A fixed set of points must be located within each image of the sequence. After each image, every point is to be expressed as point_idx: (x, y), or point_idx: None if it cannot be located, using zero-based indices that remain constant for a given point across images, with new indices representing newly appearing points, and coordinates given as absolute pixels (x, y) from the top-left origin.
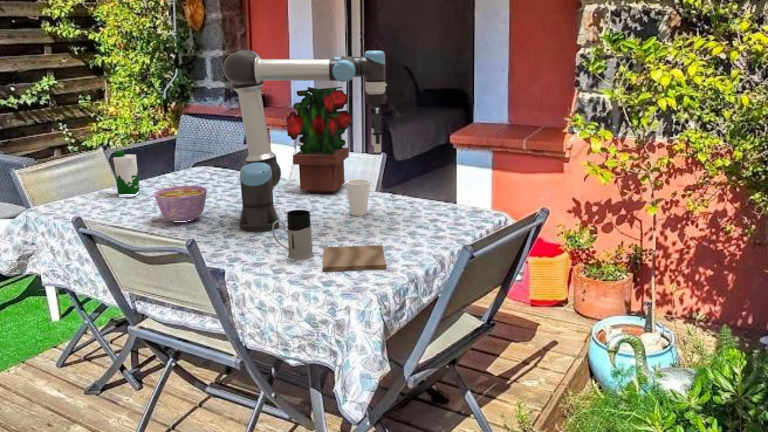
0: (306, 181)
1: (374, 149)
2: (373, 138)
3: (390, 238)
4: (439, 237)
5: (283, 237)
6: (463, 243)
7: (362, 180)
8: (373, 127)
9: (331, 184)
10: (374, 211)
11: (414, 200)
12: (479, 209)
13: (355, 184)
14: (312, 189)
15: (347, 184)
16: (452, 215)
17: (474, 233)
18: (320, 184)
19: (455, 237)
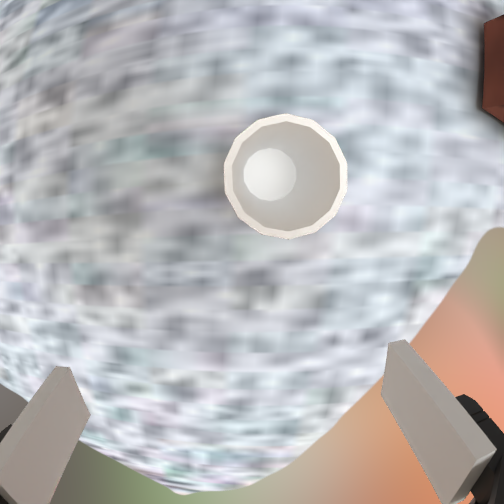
0: (499, 31)
1: (45, 382)
2: (415, 398)
3: (28, 279)
4: None
5: (53, 9)
6: None
7: (332, 199)
8: (492, 476)
9: (495, 97)
10: None
11: None
12: (276, 467)
13: (224, 166)
14: (485, 50)
15: (253, 124)
16: (229, 427)
17: (96, 439)
18: (495, 67)
19: None
